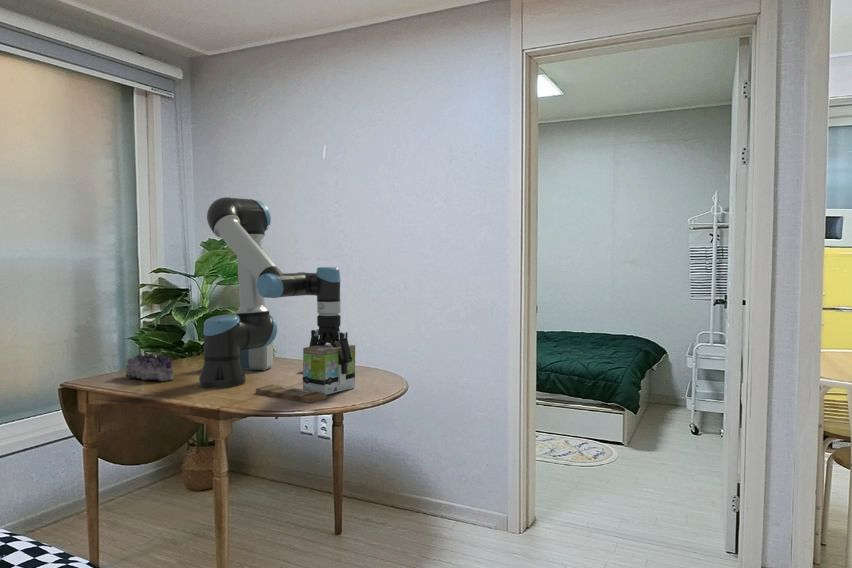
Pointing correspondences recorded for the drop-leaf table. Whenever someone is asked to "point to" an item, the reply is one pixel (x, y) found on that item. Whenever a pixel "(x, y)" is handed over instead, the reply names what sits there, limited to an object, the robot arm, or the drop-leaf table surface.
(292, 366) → the drop-leaf table surface
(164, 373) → the geode
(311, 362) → the tea box
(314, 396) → the walnut plank
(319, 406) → the drop-leaf table surface
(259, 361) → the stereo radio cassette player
